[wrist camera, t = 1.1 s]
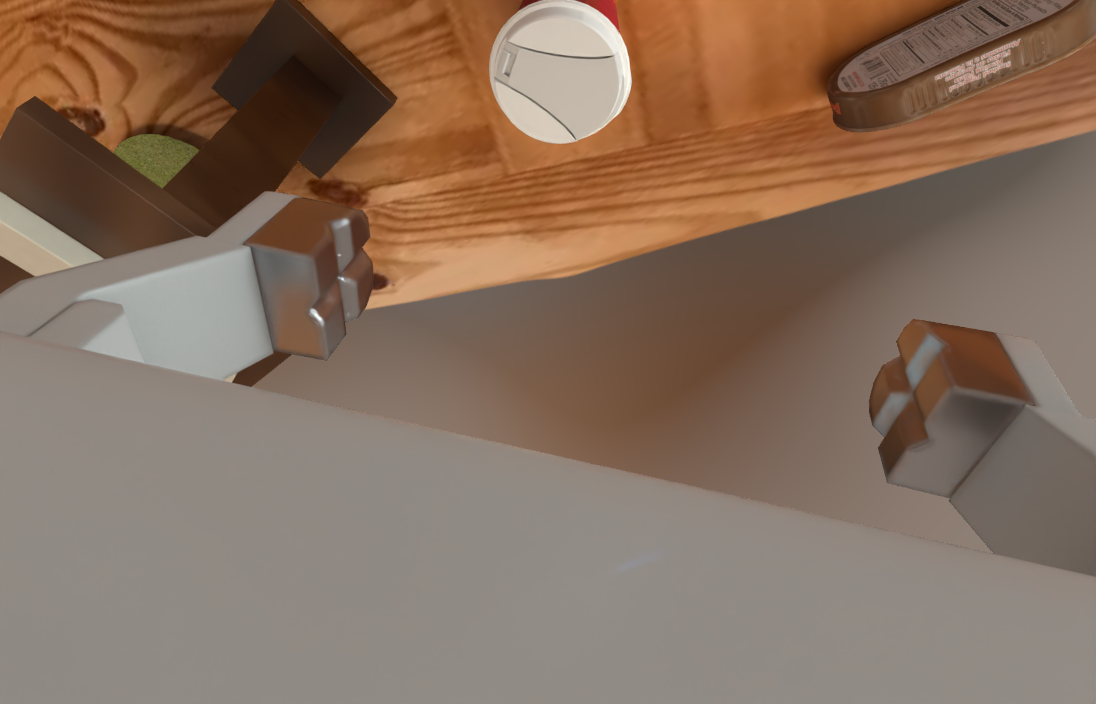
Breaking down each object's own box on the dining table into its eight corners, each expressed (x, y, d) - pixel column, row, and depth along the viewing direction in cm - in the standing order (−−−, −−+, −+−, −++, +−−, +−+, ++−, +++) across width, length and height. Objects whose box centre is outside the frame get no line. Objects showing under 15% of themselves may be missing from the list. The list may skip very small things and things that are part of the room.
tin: (822, 101, 48) (850, 157, 42) (811, 62, 46) (838, 115, 40) (1065, -8, 42) (1138, 38, 36) (1062, -58, 40) (1139, -18, 34)
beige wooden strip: (269, 339, 34) (255, 364, 33) (217, 383, 37) (203, 407, 36) (-249, -7, 24) (-298, 10, 23) (-265, 91, 27) (-310, 110, 26)
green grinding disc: (123, 208, 60) (111, 219, 59) (120, 100, 53) (107, 111, 51) (246, 255, 63) (238, 267, 61) (261, 159, 55) (252, 170, 54)
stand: (182, 65, 50) (-63, 258, 32) (263, -53, 44) (15, 107, 26) (341, 198, 57) (213, 417, 40) (430, 114, 51) (325, 328, 33)
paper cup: (502, 34, 47) (468, 122, 37) (539, -85, 41) (511, -20, 31) (603, 76, 48) (597, 172, 38) (651, -33, 43) (658, 45, 33)
